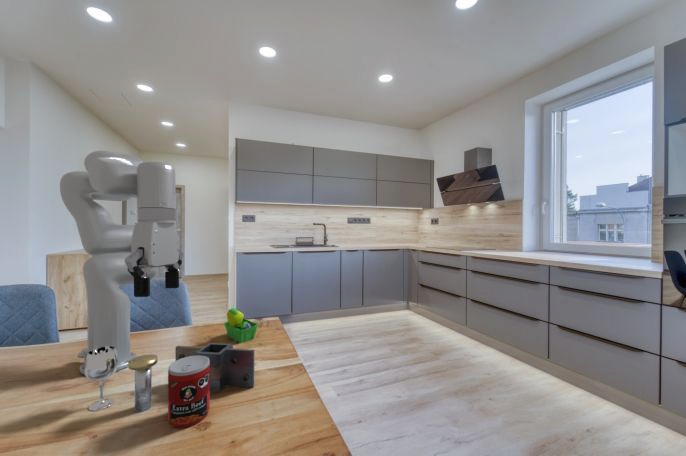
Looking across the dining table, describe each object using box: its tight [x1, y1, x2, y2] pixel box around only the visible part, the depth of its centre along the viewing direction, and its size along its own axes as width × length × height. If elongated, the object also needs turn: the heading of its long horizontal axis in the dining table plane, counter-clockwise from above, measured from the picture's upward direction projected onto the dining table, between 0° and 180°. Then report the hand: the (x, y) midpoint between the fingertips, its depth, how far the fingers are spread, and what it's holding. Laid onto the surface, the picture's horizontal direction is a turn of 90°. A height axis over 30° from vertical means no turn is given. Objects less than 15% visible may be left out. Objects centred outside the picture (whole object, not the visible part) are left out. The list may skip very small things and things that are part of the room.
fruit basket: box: [223, 307, 259, 344], centre depth 105 cm, size 11×9×11 cm
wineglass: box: [84, 346, 118, 412], centre depth 65 cm, size 6×6×12 cm
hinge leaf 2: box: [195, 342, 255, 393], centre depth 74 cm, size 13×6×9 cm, turn 83°
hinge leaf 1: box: [174, 345, 226, 379], centre depth 74 cm, size 13×6×9 cm, turn 83°
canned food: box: [167, 355, 211, 429], centre depth 62 cm, size 8×8×11 cm
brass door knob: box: [128, 354, 158, 413], centre depth 64 cm, size 5×5×10 cm
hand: (158, 292), depth 68 cm, fingers open, 9 cm apart
